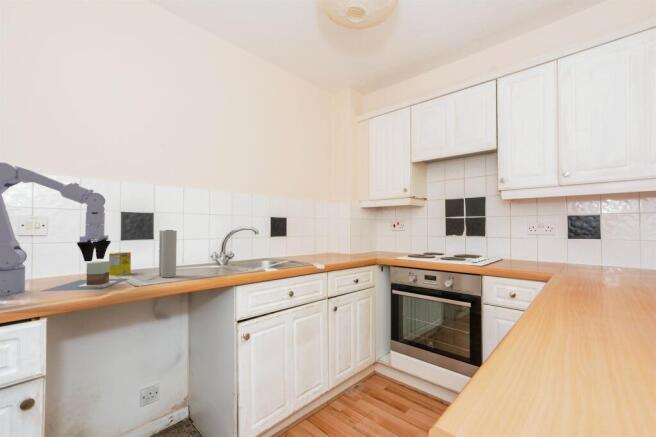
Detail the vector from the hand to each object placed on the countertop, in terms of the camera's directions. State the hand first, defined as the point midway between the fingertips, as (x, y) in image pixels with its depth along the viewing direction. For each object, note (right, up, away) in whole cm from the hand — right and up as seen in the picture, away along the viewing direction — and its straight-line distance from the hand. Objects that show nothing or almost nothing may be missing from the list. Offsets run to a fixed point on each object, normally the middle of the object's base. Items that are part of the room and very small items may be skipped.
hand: (94, 260), depth 114 cm
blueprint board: (-2, -10, +1) cm, 11 cm away
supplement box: (-7, -11, +24) cm, 27 cm away
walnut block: (+2, -9, -1) cm, 9 cm away
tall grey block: (+16, -11, +24) cm, 30 cm away
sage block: (+2, -5, -1) cm, 5 cm away
